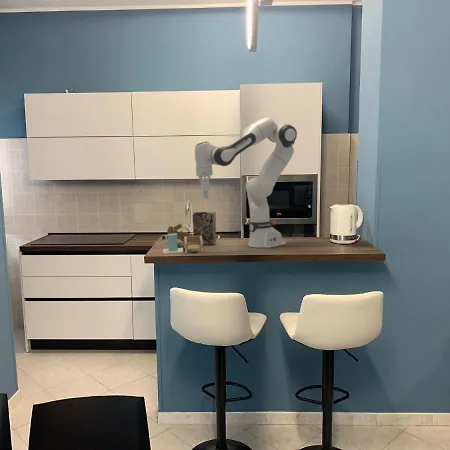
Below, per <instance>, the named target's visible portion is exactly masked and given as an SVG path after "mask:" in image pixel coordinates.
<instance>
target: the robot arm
mask: <svg viewBox="0 0 450 450" xmlns="http://www.w3.org/2000/svg"><path fill="white" fill-rule="evenodd" d="M241 135H242V136H241V137H240V138H239V139H237V140H236V141H234V142H233V143H231V144H230V145H224V146H218V145H214V144H212V143H211V142H209V141H204V142H199V143H197V144H196V145H195V146H194V160H195V175H196V177H198V180H199V182H200V185H201V189H202V191H203V198H204V199H205V200H208V199H209V191H210V190H211V189H210V179H211V176H213V165H215V166H222V167H228V166H229V165H231V164H232V163H233V161H234V160H235V158H236V157H237V156H238V155H239V154H241V153H242V152H244V151H245V150H247V149H248V148H250V147H253V146H256V145H258V144H259V143H261V142H263V141H265V140H266V139H268V140H269V141H270V142H272V143H275V147H274V149H273V151H272V152H271V153H270V155H269V156H268V157H267V159H266V161H264V163H263V164H262V166H261V170H260V172H259V173H258V175H257V177H252V178H250V179H248V181H247V182H246V184H245V189H246V193H247V194H246V195H247V199H248V206H249V220H250V221H249V240H248V244H247V247H250V248H268V249H269V248H275V247H279V246H282V245H287V241H285V240H283V236H282V234H281V232H280V231H278V230H277V229H275V228H274V227H273V226H275V225H276V221H271V220H270V207H269V203H268V198H267V197H269V196H271V195H272V193H273V190H274V187H275V185H276V183H277V180H278V179H279V177H280V175H281V174H282V172H283V171H284V170H285V168H286V167H287V165H288V164H289V163H290V161H291V158H292V157H293V154H294V151H295V149H294V147H293V145H295V142H296V140H297V137H298V136H297V135H298V131H297V129H296V127H294V125H291V124H288V123H286V124H285V123H276V122H275V120H274V119H273V118H272V117H270V116H265V117H262V118H260V119H258V120H256V121H253V122H252V123H250V124H249V125H248V126H247V127H245V129H243V131H242V134H241Z"/></svg>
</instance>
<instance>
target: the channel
mask: <svg viewBox="0 0 450 450" xmlns="http://www.w3.org/2000/svg"><path fill="white" fill-rule="evenodd" d="M183 237H184V240H185V242H184V254H185V255H188V253H196V252H197V253H198V252H199V253H200V254H202V255H203V254H204V245H203V239H202V236H194V235H192V236H183Z"/></svg>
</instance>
